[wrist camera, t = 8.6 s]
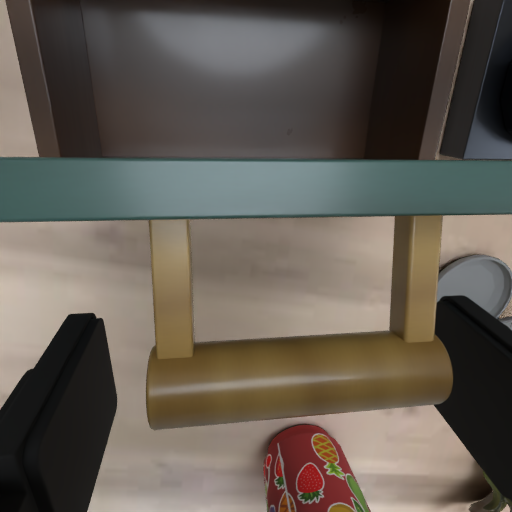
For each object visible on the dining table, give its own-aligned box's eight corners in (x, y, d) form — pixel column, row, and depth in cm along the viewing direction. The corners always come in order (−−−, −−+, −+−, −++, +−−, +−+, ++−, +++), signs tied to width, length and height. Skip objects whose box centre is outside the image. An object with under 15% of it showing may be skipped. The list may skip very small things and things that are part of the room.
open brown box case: (61, -36, 16) (-21, -114, 10) (396, -11, 18) (485, -64, 12) (93, 168, 19) (47, 197, 14) (368, 169, 22) (427, 194, 16)
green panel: (-379, 153, 4) (-272, 553, 5) (799, 161, 6) (740, 434, 7) (41, 189, 13) (53, 316, 14) (434, 187, 15) (426, 298, 16)
